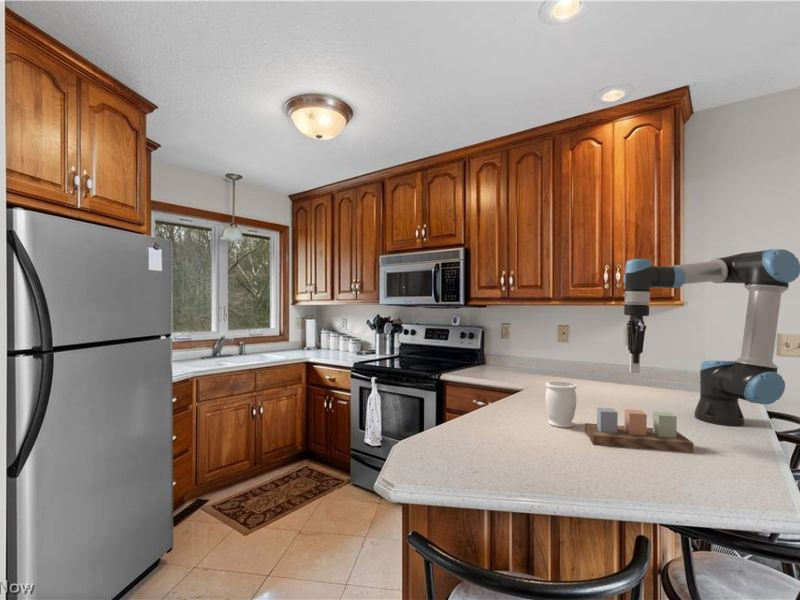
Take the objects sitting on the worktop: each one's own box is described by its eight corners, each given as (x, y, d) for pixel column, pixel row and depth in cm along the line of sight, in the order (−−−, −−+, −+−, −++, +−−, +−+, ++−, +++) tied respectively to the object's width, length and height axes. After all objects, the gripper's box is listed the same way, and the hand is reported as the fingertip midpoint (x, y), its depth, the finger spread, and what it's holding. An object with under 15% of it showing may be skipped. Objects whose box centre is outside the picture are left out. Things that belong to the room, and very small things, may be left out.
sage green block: (669, 435, 134) (670, 412, 134) (676, 440, 129) (676, 416, 129) (652, 433, 135) (653, 411, 135) (658, 438, 130) (658, 415, 130)
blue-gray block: (612, 430, 138) (613, 408, 138) (617, 435, 133) (617, 412, 133) (596, 429, 139) (597, 407, 139) (600, 434, 134) (600, 411, 134)
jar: (543, 426, 149) (543, 384, 149) (547, 418, 159) (547, 380, 158) (574, 430, 144) (575, 388, 144) (577, 423, 154) (577, 383, 154)
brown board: (674, 438, 137) (674, 429, 137) (693, 452, 125) (693, 442, 125) (584, 431, 144) (584, 423, 144) (593, 444, 131) (593, 435, 131)
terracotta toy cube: (640, 432, 136) (641, 410, 136) (646, 437, 131) (646, 414, 131) (624, 431, 137) (624, 409, 137) (629, 436, 132) (629, 413, 132)
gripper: (619, 303, 149) (617, 368, 149) (630, 303, 136) (627, 374, 136) (642, 304, 147) (640, 370, 147) (655, 304, 135) (653, 376, 135)
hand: (634, 372), depth 142 cm, fingers closed
